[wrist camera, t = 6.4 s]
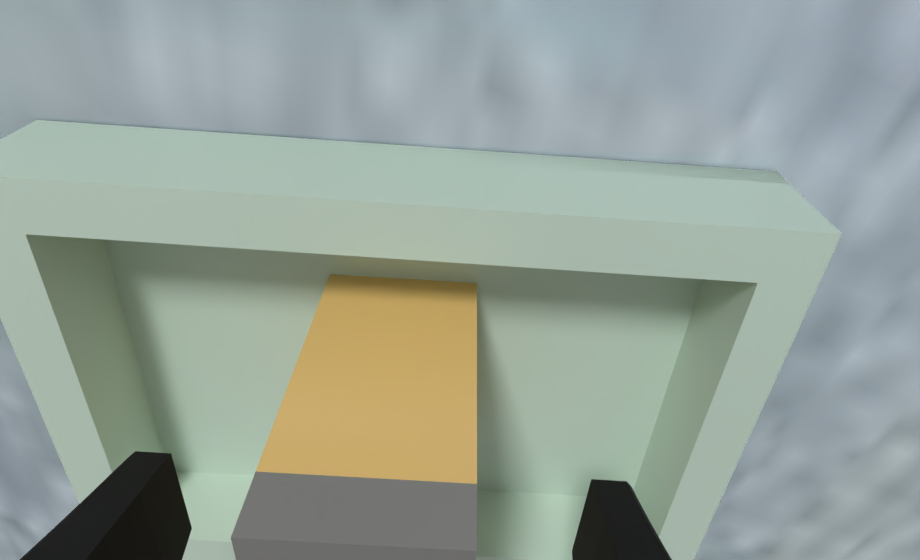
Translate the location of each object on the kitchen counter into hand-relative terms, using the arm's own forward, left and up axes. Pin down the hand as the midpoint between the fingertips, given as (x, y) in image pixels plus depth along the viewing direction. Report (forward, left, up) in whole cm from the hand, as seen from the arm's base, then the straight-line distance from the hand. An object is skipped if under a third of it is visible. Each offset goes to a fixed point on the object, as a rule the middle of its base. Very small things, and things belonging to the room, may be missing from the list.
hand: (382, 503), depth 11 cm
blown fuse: (0, 0, -4) cm, 4 cm away
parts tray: (0, 0, -4) cm, 4 cm away
